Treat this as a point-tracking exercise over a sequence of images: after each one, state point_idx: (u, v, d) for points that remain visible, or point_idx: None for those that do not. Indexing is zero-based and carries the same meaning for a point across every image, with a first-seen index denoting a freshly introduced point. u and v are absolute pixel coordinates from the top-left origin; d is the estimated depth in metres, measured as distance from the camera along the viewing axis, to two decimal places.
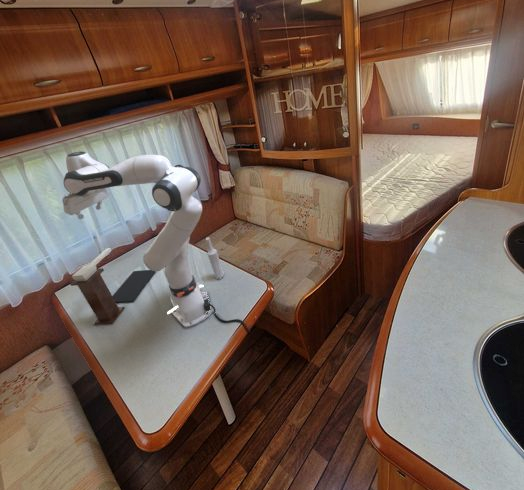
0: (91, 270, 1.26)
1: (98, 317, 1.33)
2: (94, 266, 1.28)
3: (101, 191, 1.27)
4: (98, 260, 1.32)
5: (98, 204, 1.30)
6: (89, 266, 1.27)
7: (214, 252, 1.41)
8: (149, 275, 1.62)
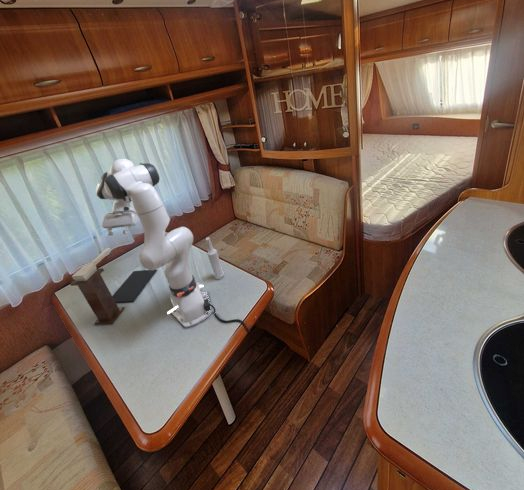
0: (91, 270, 1.26)
1: (98, 317, 1.33)
2: (94, 266, 1.28)
3: (128, 216, 1.49)
4: (98, 260, 1.32)
5: None
6: (89, 266, 1.27)
7: (214, 252, 1.41)
8: (149, 275, 1.62)
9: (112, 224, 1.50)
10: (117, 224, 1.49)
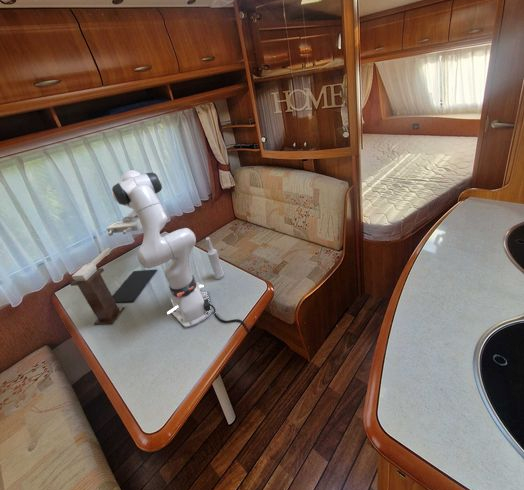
0: (91, 270, 1.26)
1: (98, 317, 1.33)
2: (94, 266, 1.28)
3: (135, 222, 1.55)
4: (98, 260, 1.32)
5: None
6: (89, 266, 1.27)
7: (214, 252, 1.41)
8: (149, 275, 1.62)
9: (117, 226, 1.53)
10: (122, 226, 1.52)
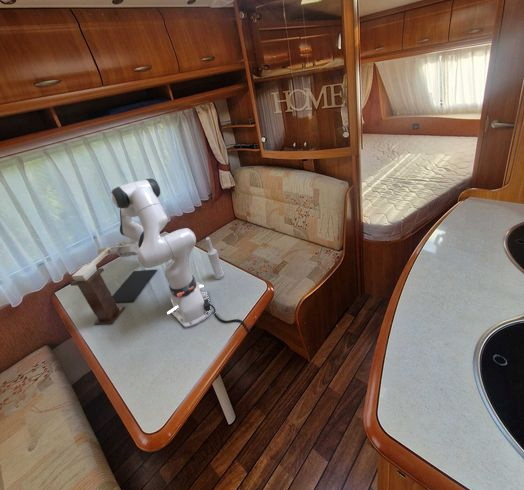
0: (91, 270, 1.26)
1: (98, 317, 1.33)
2: (94, 266, 1.28)
3: None
4: (98, 260, 1.32)
5: None
6: (89, 266, 1.27)
7: (214, 252, 1.41)
8: (149, 275, 1.62)
9: (109, 247, 1.45)
10: None
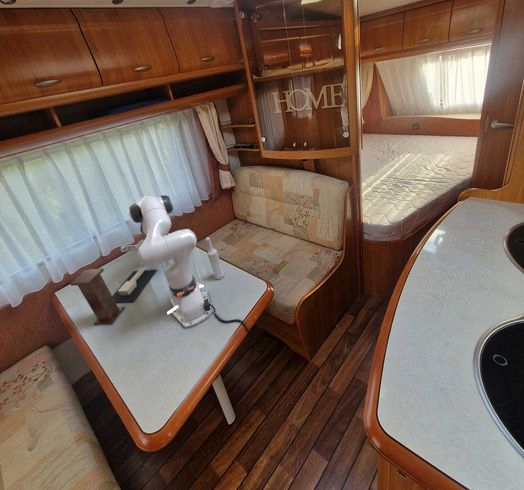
0: (133, 286, 1.51)
1: (98, 317, 1.33)
2: (135, 282, 1.53)
3: None
4: (137, 277, 1.58)
5: None
6: (131, 282, 1.53)
7: (214, 252, 1.41)
8: (149, 275, 1.62)
9: (131, 245, 1.62)
10: None
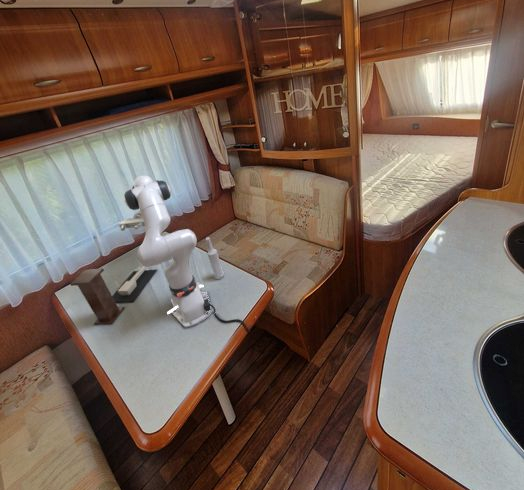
0: (133, 286, 1.51)
1: (98, 317, 1.33)
2: (135, 282, 1.53)
3: None
4: (137, 277, 1.58)
5: None
6: (131, 282, 1.53)
7: (214, 252, 1.41)
8: (149, 275, 1.62)
9: (128, 222, 1.62)
10: (133, 221, 1.62)
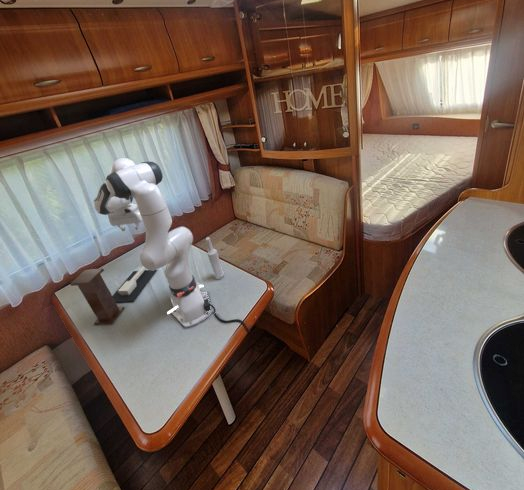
0: (133, 286, 1.51)
1: (98, 317, 1.33)
2: (135, 282, 1.53)
3: (133, 216, 1.53)
4: (137, 277, 1.58)
5: None
6: (131, 282, 1.53)
7: (214, 252, 1.41)
8: (149, 275, 1.62)
9: (121, 223, 1.56)
10: (126, 223, 1.55)
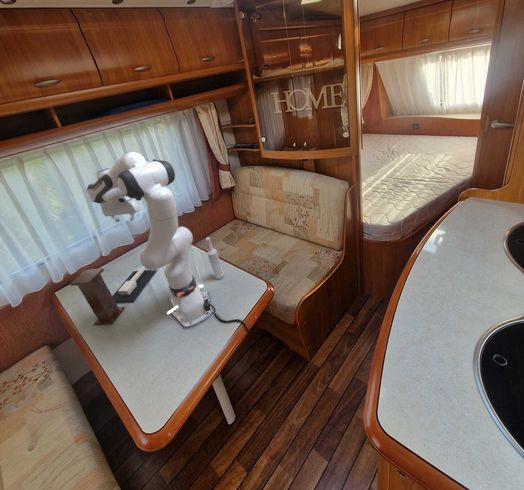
0: (133, 286, 1.51)
1: (98, 317, 1.33)
2: (135, 282, 1.53)
3: (128, 205, 1.43)
4: (137, 277, 1.58)
5: None
6: (131, 282, 1.53)
7: (214, 252, 1.41)
8: (149, 275, 1.62)
9: (115, 213, 1.46)
10: (120, 213, 1.46)
